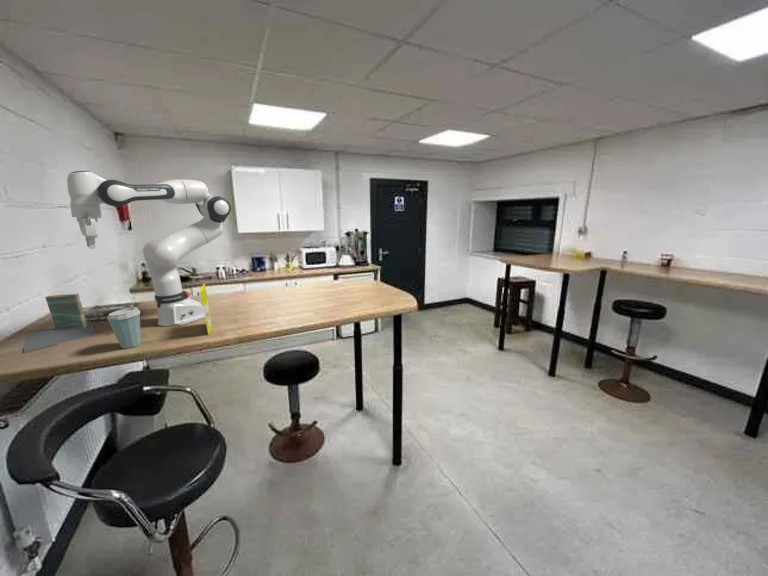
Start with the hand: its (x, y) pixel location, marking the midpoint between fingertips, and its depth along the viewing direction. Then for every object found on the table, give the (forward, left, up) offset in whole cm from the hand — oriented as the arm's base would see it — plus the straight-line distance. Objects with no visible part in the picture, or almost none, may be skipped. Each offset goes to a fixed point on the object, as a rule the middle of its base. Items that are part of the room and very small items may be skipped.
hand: (91, 247), depth 132 cm
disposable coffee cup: (-3, +18, -39) cm, 43 cm away
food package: (-31, +25, -39) cm, 56 cm away
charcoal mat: (+17, -20, -39) cm, 47 cm away
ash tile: (+13, -27, -38) cm, 49 cm away
